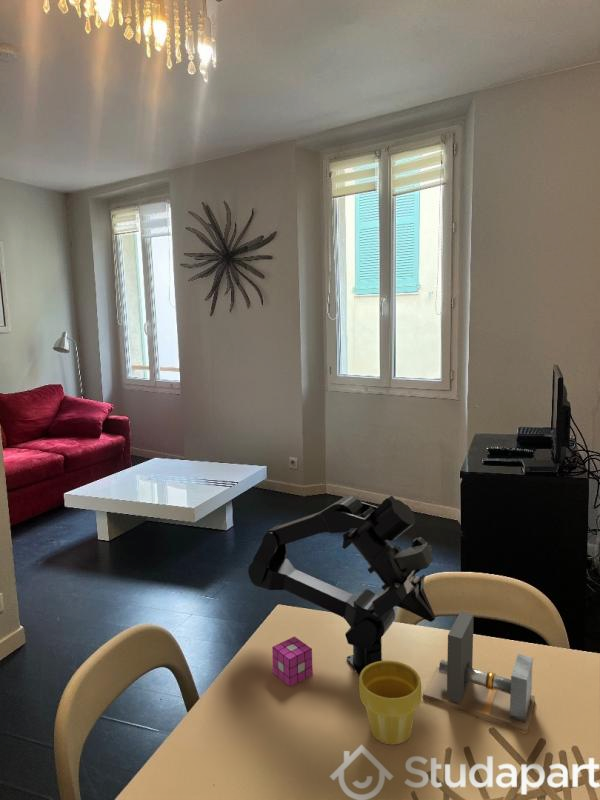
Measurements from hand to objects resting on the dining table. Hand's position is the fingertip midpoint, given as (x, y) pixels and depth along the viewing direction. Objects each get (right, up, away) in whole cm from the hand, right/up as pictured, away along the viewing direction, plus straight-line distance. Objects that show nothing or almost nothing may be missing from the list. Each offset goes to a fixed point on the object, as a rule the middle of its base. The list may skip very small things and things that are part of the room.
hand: (433, 620), depth 104 cm
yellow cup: (-10, -15, -9) cm, 20 cm away
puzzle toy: (-26, -14, +6) cm, 30 cm away
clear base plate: (+8, -14, -2) cm, 16 cm away
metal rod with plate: (+8, -13, -3) cm, 15 cm away
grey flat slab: (+5, -12, -1) cm, 13 cm away
